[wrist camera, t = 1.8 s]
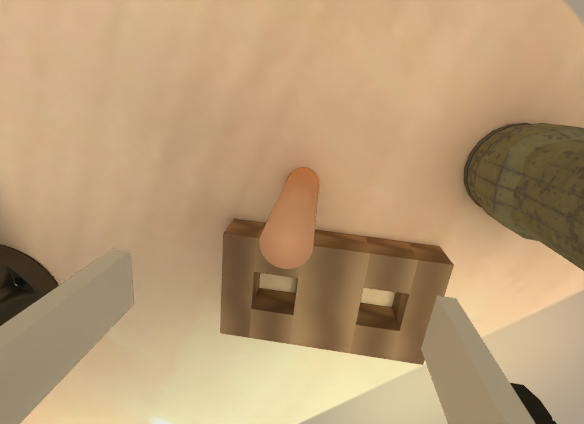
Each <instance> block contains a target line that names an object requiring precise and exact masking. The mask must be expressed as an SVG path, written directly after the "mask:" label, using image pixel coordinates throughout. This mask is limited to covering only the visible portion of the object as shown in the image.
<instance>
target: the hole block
mask: <svg viewBox="0 0 584 424" xmlns="http://www.w3.org/2000/svg"><path fill="white" fill-rule="evenodd" d="M265 225H266V223H259V222H252V221H245V220H237V219H234V220H233V222H232V223H231V224H230V226H229V227H228V228H227V230H226V231H225V232H224V234H223V264H222V294H221V325H220V333H223V334H229V335H236V336H242V337H249V338H255V339H262V340H268V341H274V342H281V343H287V344H294V345H300V346H306V347H313V348H319V349H326V350H332V351H338V352H345V353H351V354H358V355H364V356H370V357H377V358H383V359H390V360H396V361H403V362H409V363H415V364H422V365H423V363H424V360H425V359H424V356H423V353H422V351H421V347H422V344H423V341H424V337H425V334H426V331H427V327H428V324H429V321H430V317H431V314H432V311H433V307H434V304H435V301H436V297H437V296H442V297H444V295H445V292H446V289H447V285H448V282H449V279H450V276H451V272H452V269H453V266H454V265H453V263H452V262H451V261H450V259H449V258H448V257H447V256H446V254H445V253H444V252H443V250H442V249H441V248H440V247H439V246H431V245H424V244H416V243H409V242H401V241H394V240H387V239H379V238H372V237H364V236H357V235H349V234H342V233H334V232H327V231H319V230H315V233H314V243H313V251H312V254H311V256H310V258H309V259H308V260H307V261H306V263H304V264H303V265H301V266H299V267H297V268H293V269H283V268H279V267H276V266H274V265H272V264H271V263H269V262H268V261H267V260H266V259H265V258H264V256H263V255H262V253H261V250H260V246H259V240H260V236H261V233H262V231H263V229H264V227H265ZM260 273H266V274H273V275H280V276H287V277H294V278H298V283H297V291H296V294H295V293H288V292H282V291H275V290H268V289H261V288H259V278H260ZM363 288H370V289H377V290H384V291H391V292H396V294H395V298H394V302H393V306H392V308H391V307H384V306H377V305H370V304H364V303H360V301H361V297H362V292H363Z"/></svg>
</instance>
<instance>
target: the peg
mask: <svg viewBox="0 0 584 424" xmlns="http://www.w3.org/2000/svg"><path fill="white" fill-rule="evenodd" d="M318 189H319V179H318V176H317V175H316V173H315V172H314V171H313V170H311V169H309V168H305V167H301V168H297V169H295V170H294V171H293V172H292V173H291V174H290V176H289V178H288V180H287V182H286V184H285V186H284V188H283V190H282V192H281V194H280V196H279V198H278V200H277V202H276V204H275V207H274V209H273V211H272V213H271V215H270V217H269V219H268V221H267V223H266V225H265V227H264V229H263V231H262V233H261V236H260V240H259V246H260V250H261V253H262V255H263V256H264V258H265V259H266V260H267V261H268V262H269V263H271V264H272V265H274V266H276V267H279V268H283V269H293V268H297V267H299V266H301V265H303V264H304V263H306V261H307V260H308V259H309V258H310V256H311V254H312V251H313V243H314V233H315V222H316V211H317V200H318Z"/></svg>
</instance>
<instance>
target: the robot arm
mask: <svg viewBox="0 0 584 424" xmlns="http://www.w3.org/2000/svg"><path fill="white" fill-rule="evenodd" d="M133 304H134V295H133V282H132V269H131V256H130V250H123V249H116V248H113V249H111V250H110V251H108V252H107V253H106V254H104V255H103V256H101V257H100V258H98V259H97V260H95V261H94V262H93V263H91V264H90V265H88V266H87V267H85V268H84V269H82V270H81V271H80V272H78V273H77V274H75V275H74V276H72V277H71V278H69V279H68V280H67V281H65V282H64V283H62V284H61V285H59V286H57V284H56V282H55V281H54V280H53V278H52V277H51V276H50V275H49V273H48V272H47V271H46V270H45V269H44V268H43V267H42V266H40V265H39V264H38V263H37V262H35V261H34V260H33V259H31V258H30V257H28V256H26V255H25V254H23V253H21V252H19V251H17V250H14V249H11V248H8V247H4V246H0V424H20V423H21V422H22V421H23V420H24V419H25V418H26V417H27V416H28V415H29V413H30V412H31V411H32V410H33V409H34V408H35V407H36V406H37V405H38V404H39V403H40V402H41V401H42V400H43V399H44V398H45V397H46V396H47V395H48V394H49V392H50V391H51V390H52V389H53V388H54V387H55V386H56V385H57V384H58V383H59V382H60V381H61V380H62V379H63V378H64V377H65V376H66V375H67V374H68V373H69V371H70V370H71V369H72V368H73V367H74V366H75V365H76V364H77V363H78V362H79V361H80V360H81V359H82V358H83V357H84V356H85V355H86V354H87V353H88V352H89V350H90V349H91V348H92V347H93V346H94V345H95V344H96V343H97V342H98V341H99V340H100V339H101V338H102V337H103V336H104V335H105V334H106V333H107V332H108V331H109V329H110V328H111V327H112V326H113V325H114V324H115V323H116V322H117V321H118V320H119V319H120V318H121V317H122V316H123V315H124V314H125V313H126V312H127V311H128V310H129V309H130V307H131V306H132V305H133ZM421 351H422V353H423V356H424V359H425V362H426V364H427V367H428V369H429V372H430V375H431V378H432V381H433V383H434V386H435V389H436V392H437V394H438V397H439V400H440V402H441V405H442V408H443V411H444V413H445V416H446V419H447V422H448V424H556V422H555V421H553V420H552V417H551V415H550V414H549V413H548V411H547V409H546V408H545V407H544V405H543V404H542V402H541V401H540V400H539V399H538V398H537V397H536V396H535V395H534V394H532V393H531V392H530V391H529V390H528V389H527V388H526V387H525V386H524V385H520V384H514V383H509V381H508V380H507V378H506V376H505V375H504V373H503V372H502V370H501V368H500V367H499V365H498V364H497V362H496V361H495V359H494V357H493V356H492V354H491V353H490V351H489V349H488V348H487V346H486V345H485V343H484V342H483V340H482V338H481V337H480V335H479V334H478V332H477V331H476V329H475V327H474V326H473V324H472V323H471V321H470V320H469V318H468V316H467V315H466V313H465V312H464V310H463V308H462V307H461V305H460V304H459V302H458V301H457V299H456V298H449V297H442V296H437V297H436V301H435V304H434V307H433V311H432V314H431V317H430V321H429V324H428V327H427V331H426V334H425V337H424V341H423V344H422V347H421Z"/></svg>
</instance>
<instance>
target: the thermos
mask: <svg viewBox="0 0 584 424" xmlns="http://www.w3.org/2000/svg"><path fill="white" fill-rule="evenodd" d="M464 183H465V186H466V189H467V192H468V195H469V196H470V197H471V198H472V199H473V201H474V202H475V203H476V204H477V205H479V206H480V207H482V208H483V209H484V211H485V212H486V213H487V214H488V215H490V216H491V217H492V218H494V219H495V220H497V221H498V222H499V223H501V224H502V225H504V226H505V227H507V228H509V229H510V230H512V231H513V232H515V233H517V234H518V235H520V236H521V237H523V238H526V239H531V240H536V241H540V242H542V243H543V244H545V245H546V246H548V247H549V248H551V249H552V250H554V251H555V252H557V253H558V254H560V255H561V256H563V257H564V258H566V259H567V260H569V261H570V262H572V263H573V264H574V265H576V266H577V267H579V268H580V269H582V270H583V271H584V128H579V127H572V126H563V125H554V124H545V123H540V124H528V123H520V124H511V125H506V126H504V127H502V128H499V129H497V130H494V131H492V132H491V133H490V134H488V135H487V136H486V137H484V138H483V139H482V140H481V141H479V143H478V144H477V145H476V146H475V148H474V149H473V150H472V152H471V153H470V155H469V157H468V160H467V163H466V165H465V168H464Z"/></svg>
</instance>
